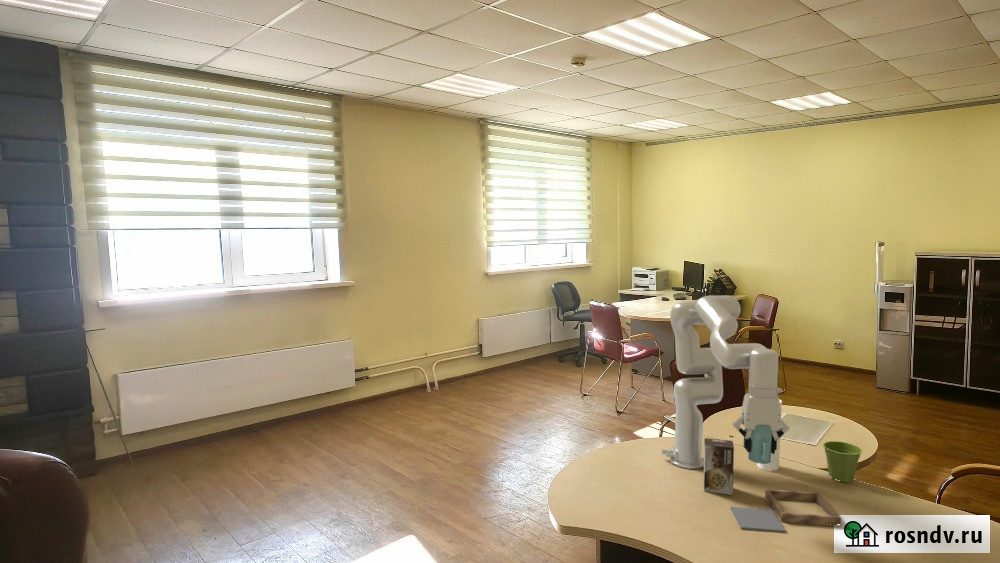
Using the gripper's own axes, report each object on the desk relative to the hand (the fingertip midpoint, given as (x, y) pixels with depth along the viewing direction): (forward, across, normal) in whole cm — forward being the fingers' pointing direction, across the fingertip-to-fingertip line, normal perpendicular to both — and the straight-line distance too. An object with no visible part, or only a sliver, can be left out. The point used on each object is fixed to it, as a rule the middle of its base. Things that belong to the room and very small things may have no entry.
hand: (759, 450), depth 164 cm
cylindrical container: (+21, -15, -40) cm, 48 cm away
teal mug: (+3, 0, +1) cm, 3 cm away
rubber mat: (+21, 0, 0) cm, 21 cm away
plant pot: (+21, -37, -34) cm, 55 cm away
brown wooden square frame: (+21, -15, -8) cm, 27 cm away
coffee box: (+21, +7, -19) cm, 29 cm away
